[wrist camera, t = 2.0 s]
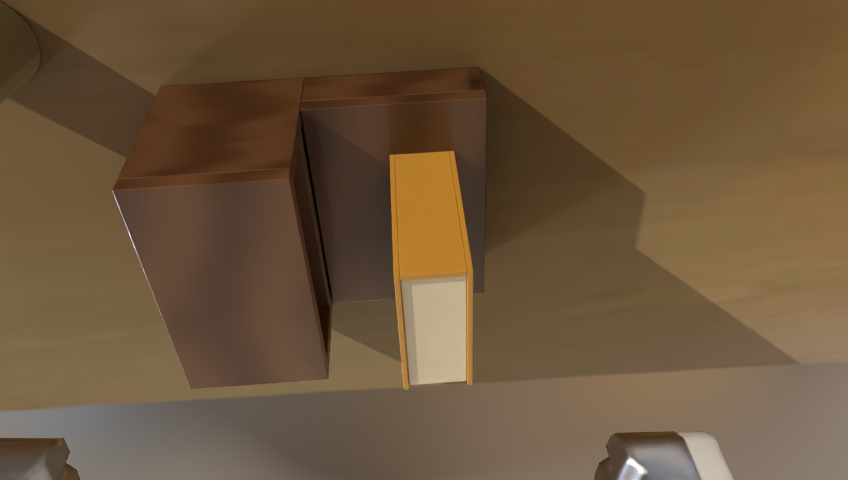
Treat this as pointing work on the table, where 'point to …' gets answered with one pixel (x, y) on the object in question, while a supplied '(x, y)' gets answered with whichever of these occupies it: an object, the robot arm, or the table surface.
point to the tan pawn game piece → (16, 52)
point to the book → (431, 269)
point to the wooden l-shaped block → (286, 208)
